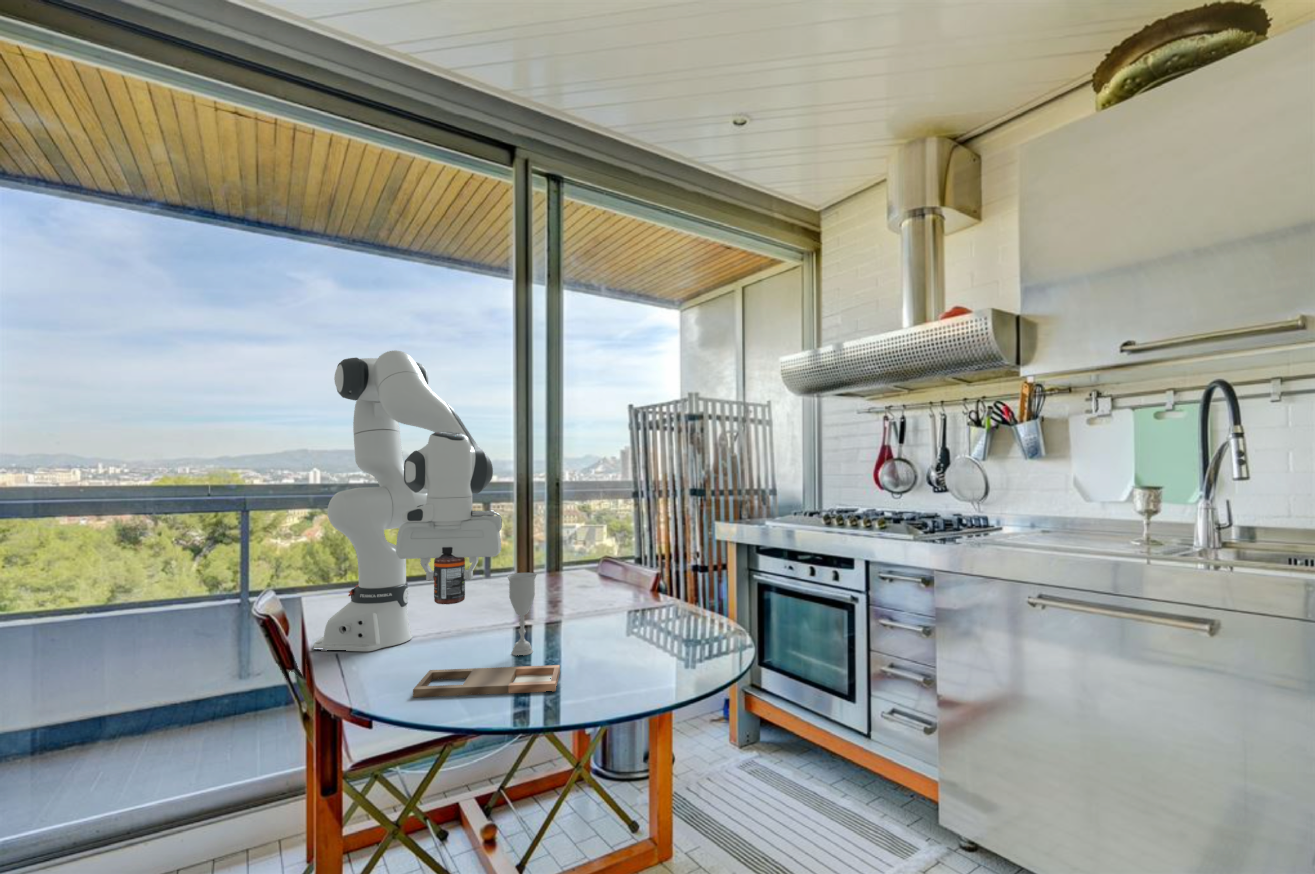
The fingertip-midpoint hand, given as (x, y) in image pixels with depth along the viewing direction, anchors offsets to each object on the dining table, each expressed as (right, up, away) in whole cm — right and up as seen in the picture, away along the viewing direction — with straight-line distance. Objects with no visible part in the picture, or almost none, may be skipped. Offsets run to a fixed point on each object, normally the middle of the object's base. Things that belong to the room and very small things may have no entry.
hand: (449, 579), depth 124 cm
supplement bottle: (0, -5, 0) cm, 5 cm away
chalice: (+10, -22, +20) cm, 32 cm away
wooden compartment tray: (+8, -21, 0) cm, 23 cm away
